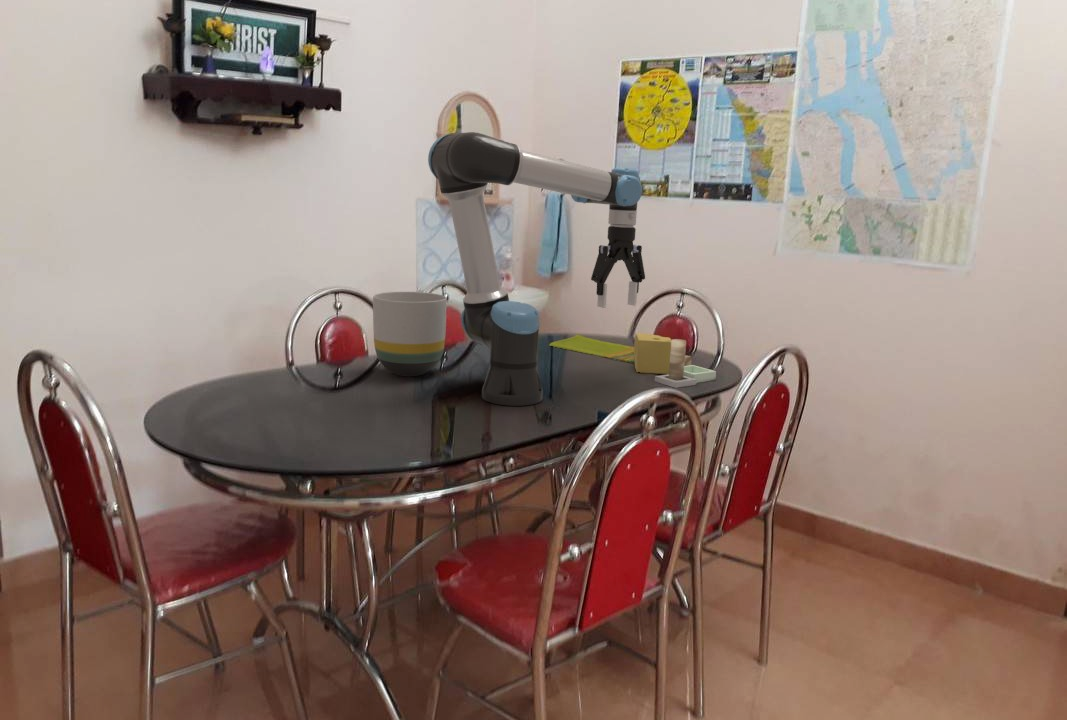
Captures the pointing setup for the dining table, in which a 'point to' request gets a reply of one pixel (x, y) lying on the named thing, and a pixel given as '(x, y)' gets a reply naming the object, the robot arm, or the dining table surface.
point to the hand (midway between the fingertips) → (616, 306)
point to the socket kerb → (679, 383)
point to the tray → (699, 373)
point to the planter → (409, 331)
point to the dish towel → (597, 348)
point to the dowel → (677, 359)
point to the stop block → (687, 360)
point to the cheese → (652, 353)
